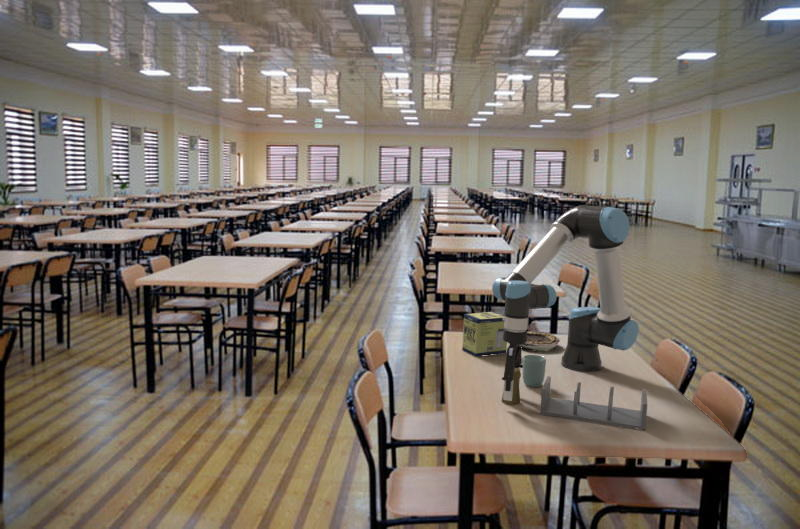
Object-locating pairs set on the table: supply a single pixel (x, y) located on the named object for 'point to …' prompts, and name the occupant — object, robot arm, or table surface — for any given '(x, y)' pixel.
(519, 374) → the cork
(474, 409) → the table surface
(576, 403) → the rack
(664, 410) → the table surface
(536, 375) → the cup
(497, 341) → the protein box
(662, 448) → the table surface
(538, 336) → the pie
